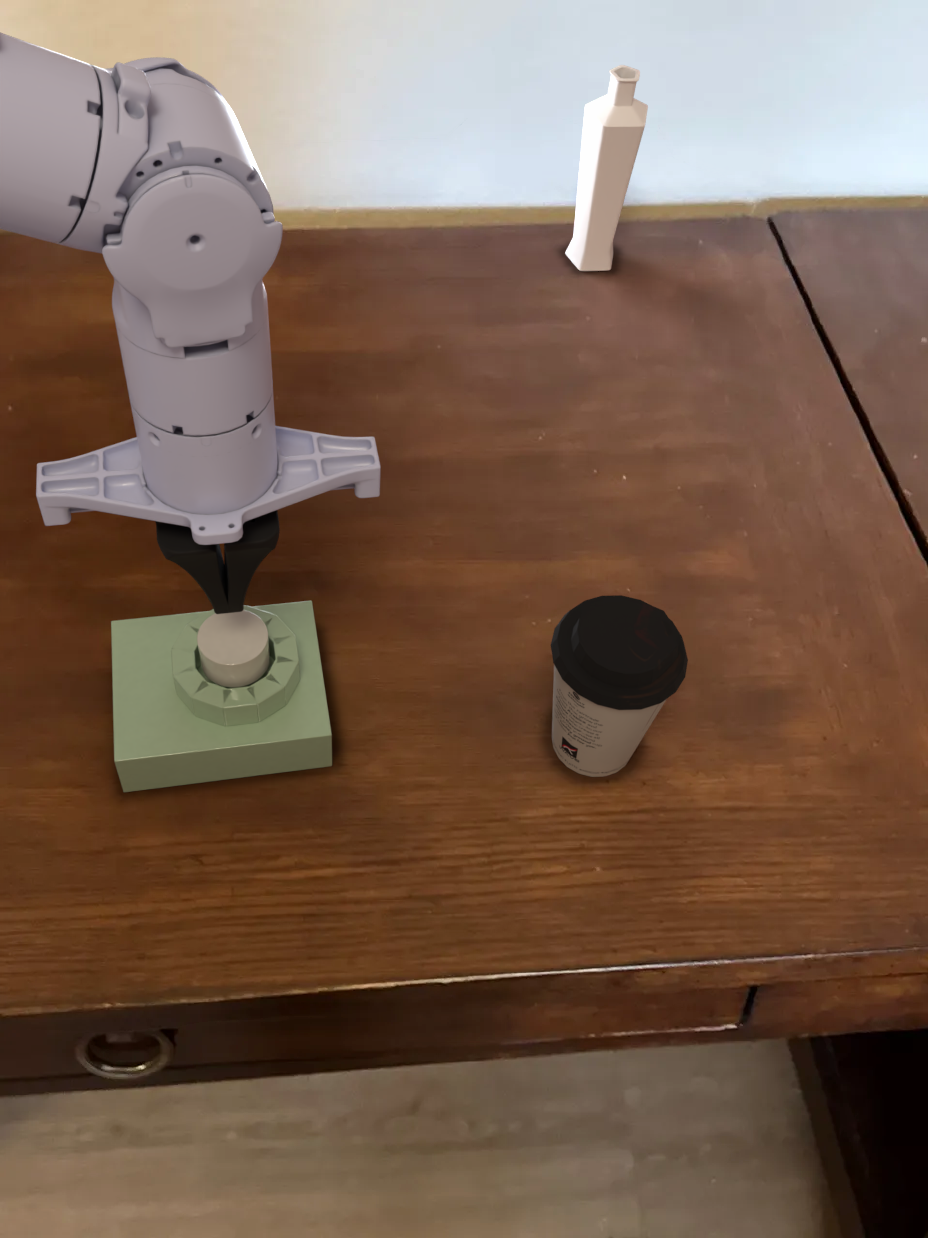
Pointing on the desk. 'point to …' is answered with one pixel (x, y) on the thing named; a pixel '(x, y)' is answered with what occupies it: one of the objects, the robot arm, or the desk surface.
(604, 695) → the coffee cup
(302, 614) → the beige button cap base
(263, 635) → the beige button cap
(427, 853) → the desk surface
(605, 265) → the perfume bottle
